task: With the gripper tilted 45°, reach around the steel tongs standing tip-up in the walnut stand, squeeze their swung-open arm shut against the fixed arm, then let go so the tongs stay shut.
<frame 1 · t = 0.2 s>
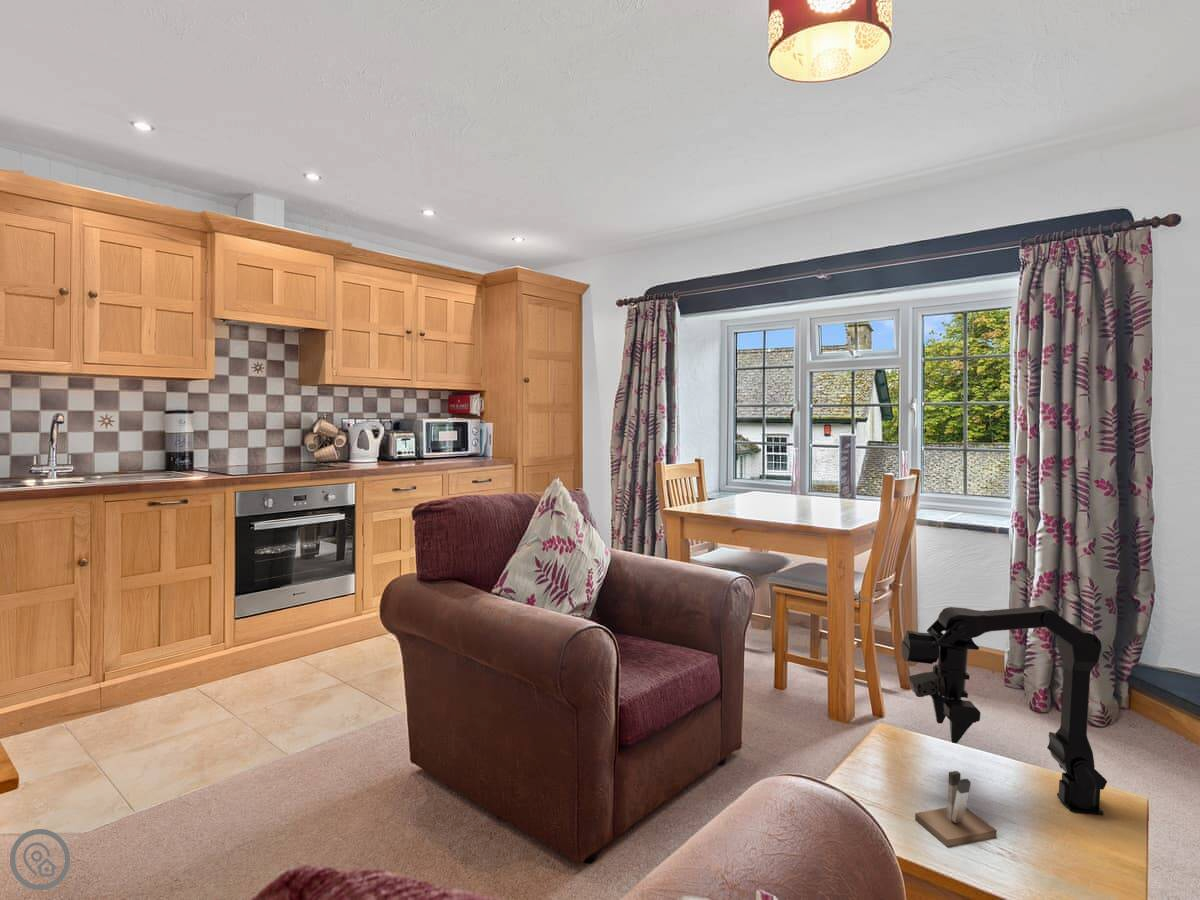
hand: (946, 732, 150), 14 cm above the table, tool pointing down, fingers open, 9 cm apart
tongs stand: (954, 828, 138), on the table
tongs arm: (961, 800, 136), point 7 cm above the table, hinge at -10.0°
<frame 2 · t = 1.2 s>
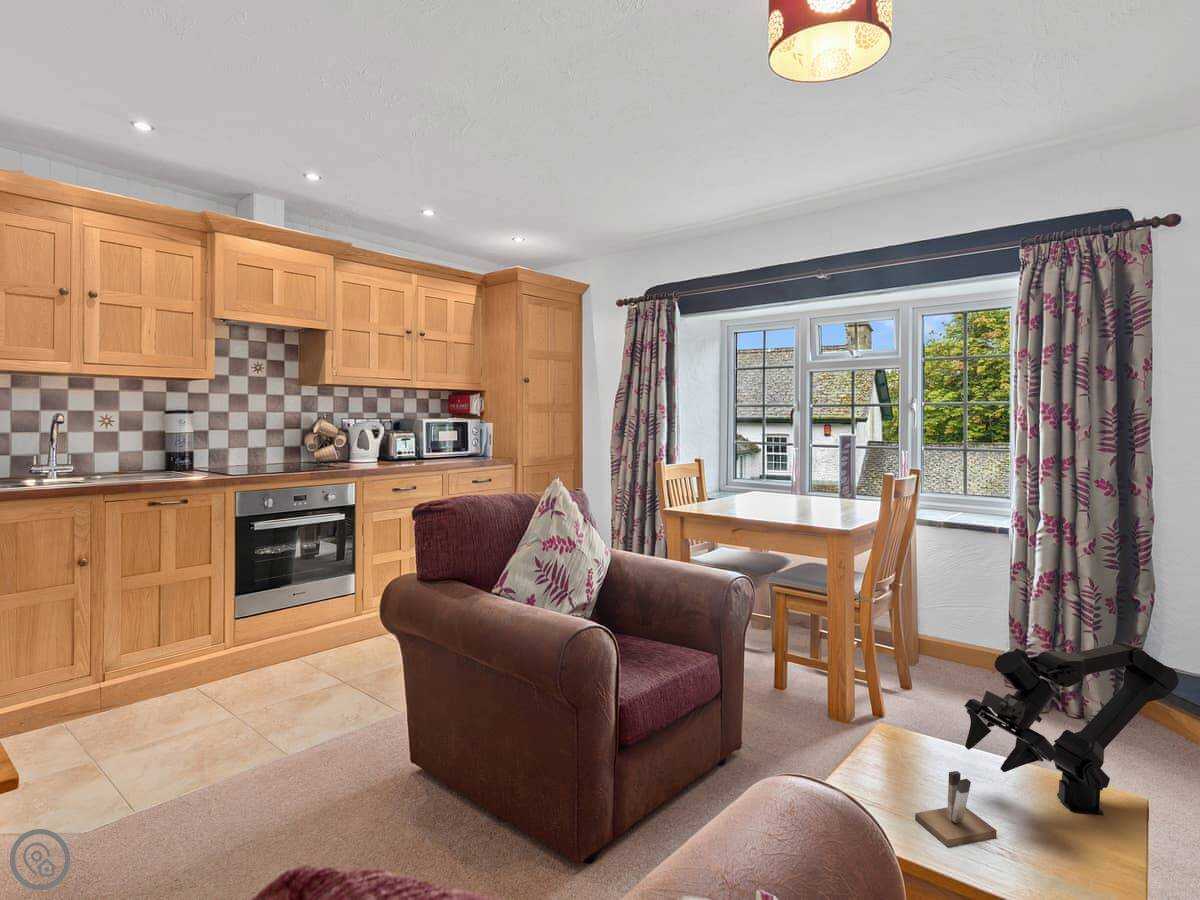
hand: (983, 759, 140), 13 cm above the table, tool tilted 45°, fingers open, 9 cm apart
nothing on the table moved.
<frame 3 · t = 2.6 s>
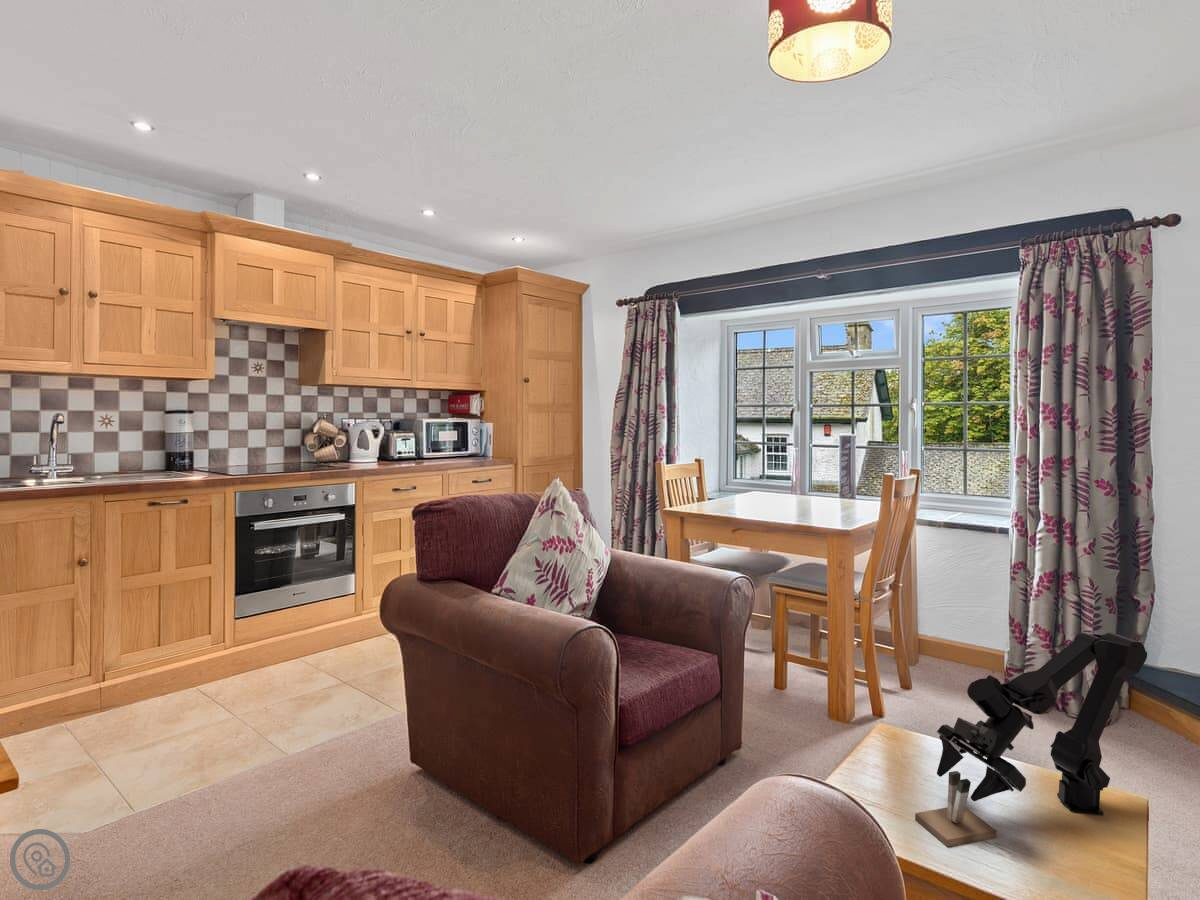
hand: (954, 787, 139), 8 cm above the table, tool tilted 45°, fingers open, 9 cm apart
nothing on the table moved.
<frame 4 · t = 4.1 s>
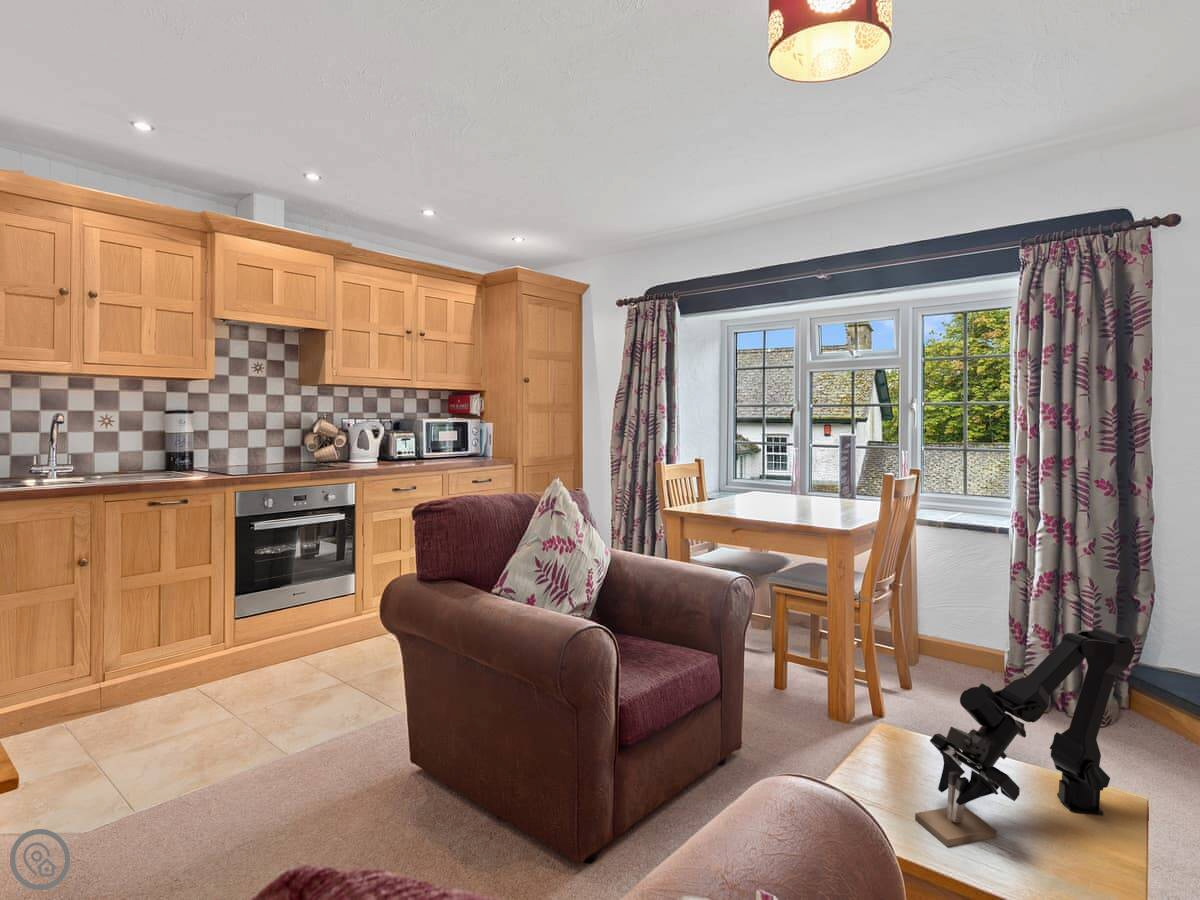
hand: (948, 797, 138), 7 cm above the table, tool tilted 45°, fingers open, 4 cm apart
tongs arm: (960, 799, 137), point 7 cm above the table, hinge at -6.6°, touching gripper
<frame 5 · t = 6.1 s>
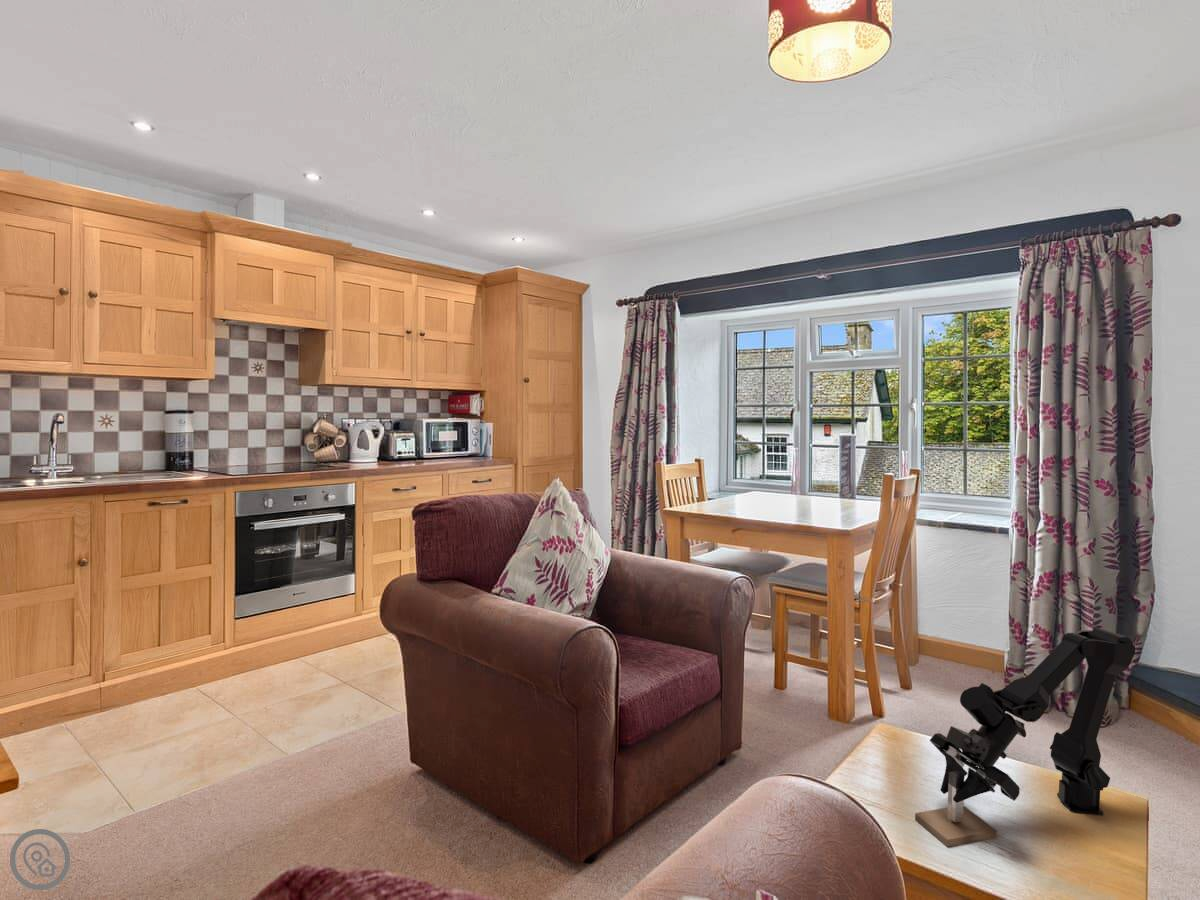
hand: (948, 796, 138), 7 cm above the table, tool tilted 45°, fingers open, 3 cm apart
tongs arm: (957, 797, 137), point 7 cm above the table, hinge at 0.6°, touching gripper
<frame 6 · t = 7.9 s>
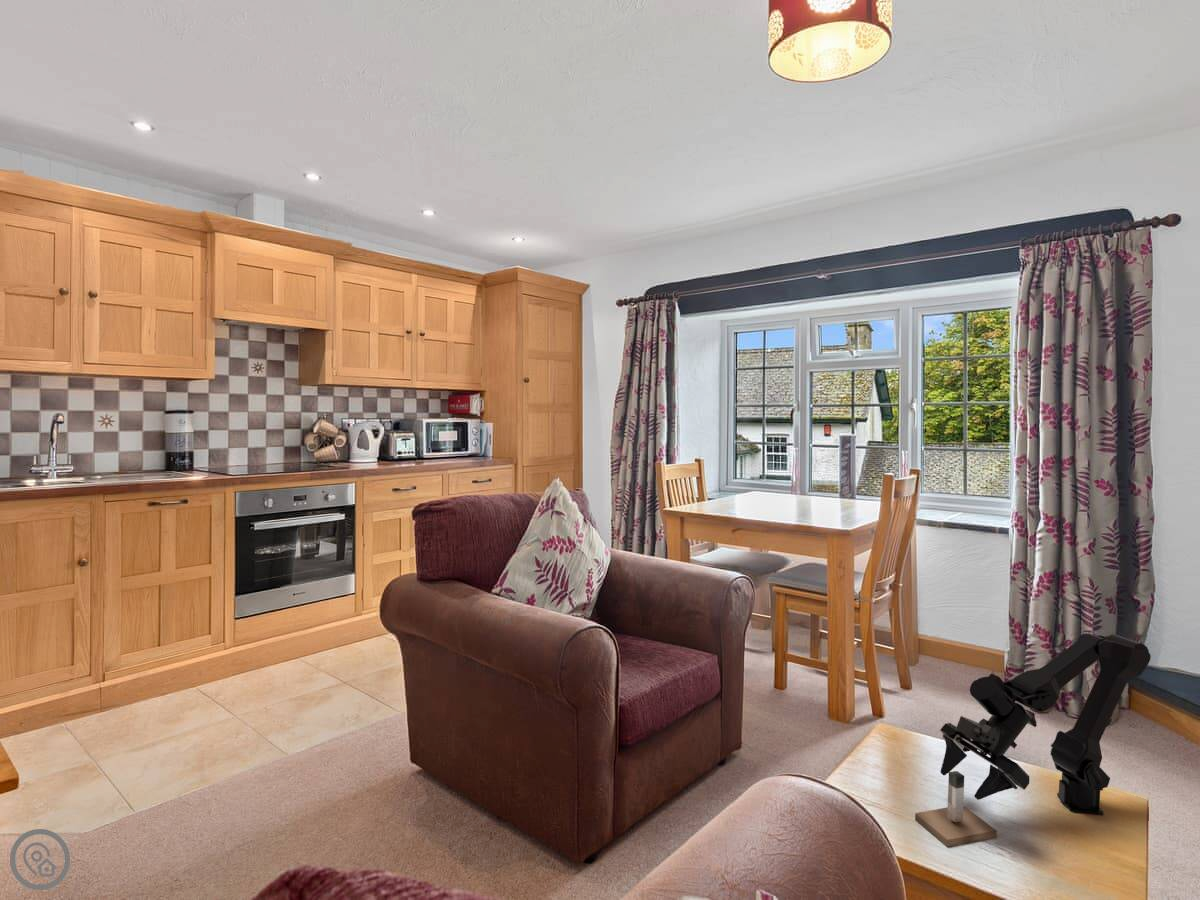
hand: (958, 785, 139), 8 cm above the table, tool tilted 45°, fingers open, 9 cm apart
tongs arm: (957, 797, 137), point 7 cm above the table, hinge at 0.6°
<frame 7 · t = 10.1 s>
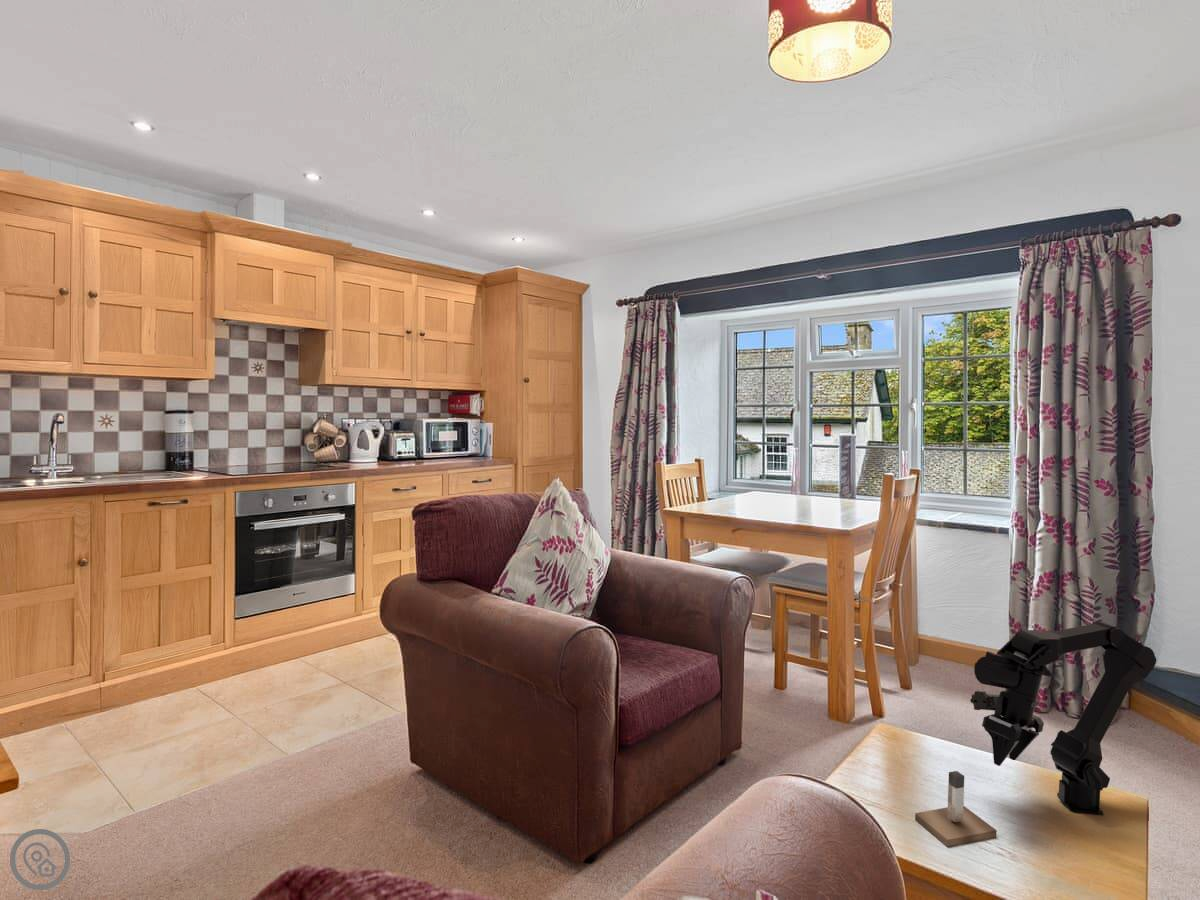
hand: (1004, 762, 142), 12 cm above the table, tool pointing down, fingers open, 9 cm apart
nothing on the table moved.
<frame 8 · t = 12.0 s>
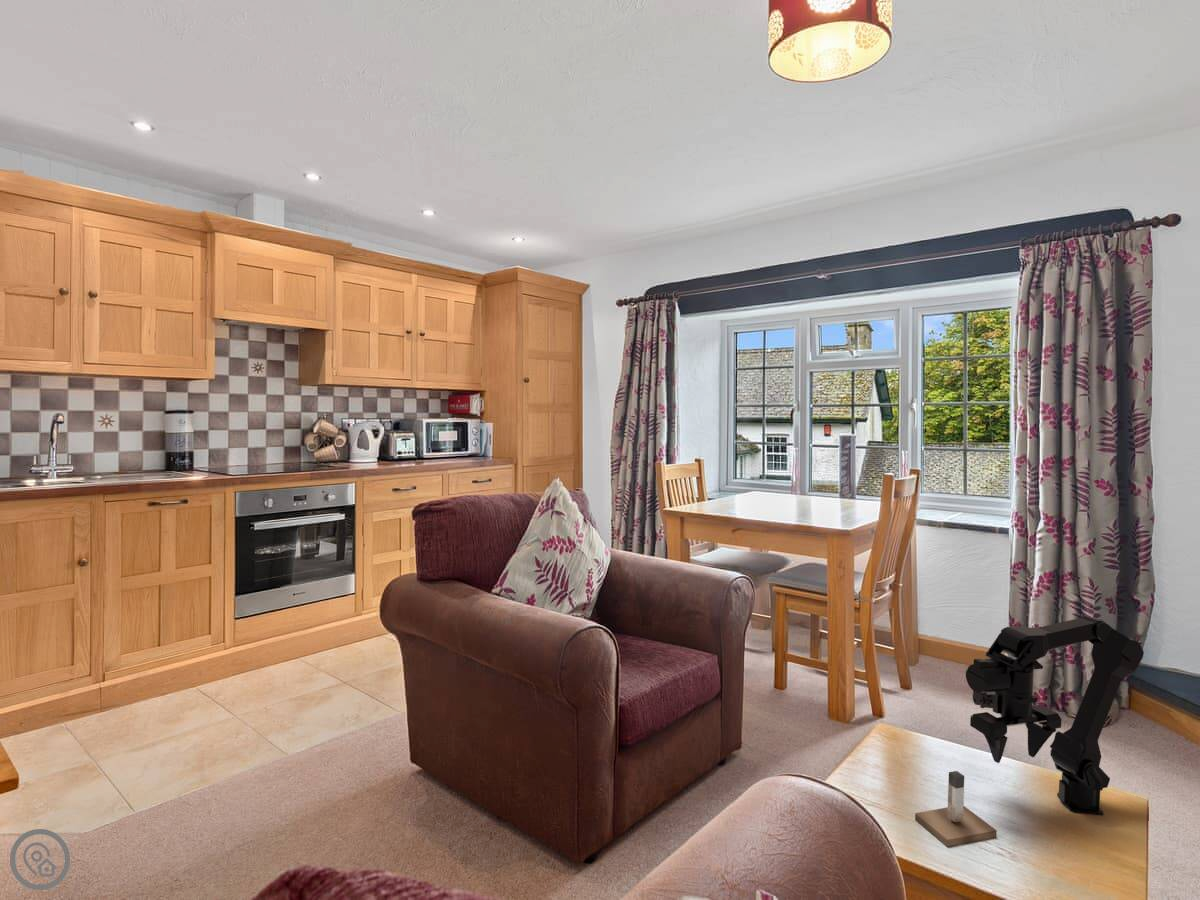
hand: (1014, 759, 143), 12 cm above the table, tool pointing down, fingers open, 9 cm apart
nothing on the table moved.
at the end: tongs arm at +1° (first picture: -10°) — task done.
